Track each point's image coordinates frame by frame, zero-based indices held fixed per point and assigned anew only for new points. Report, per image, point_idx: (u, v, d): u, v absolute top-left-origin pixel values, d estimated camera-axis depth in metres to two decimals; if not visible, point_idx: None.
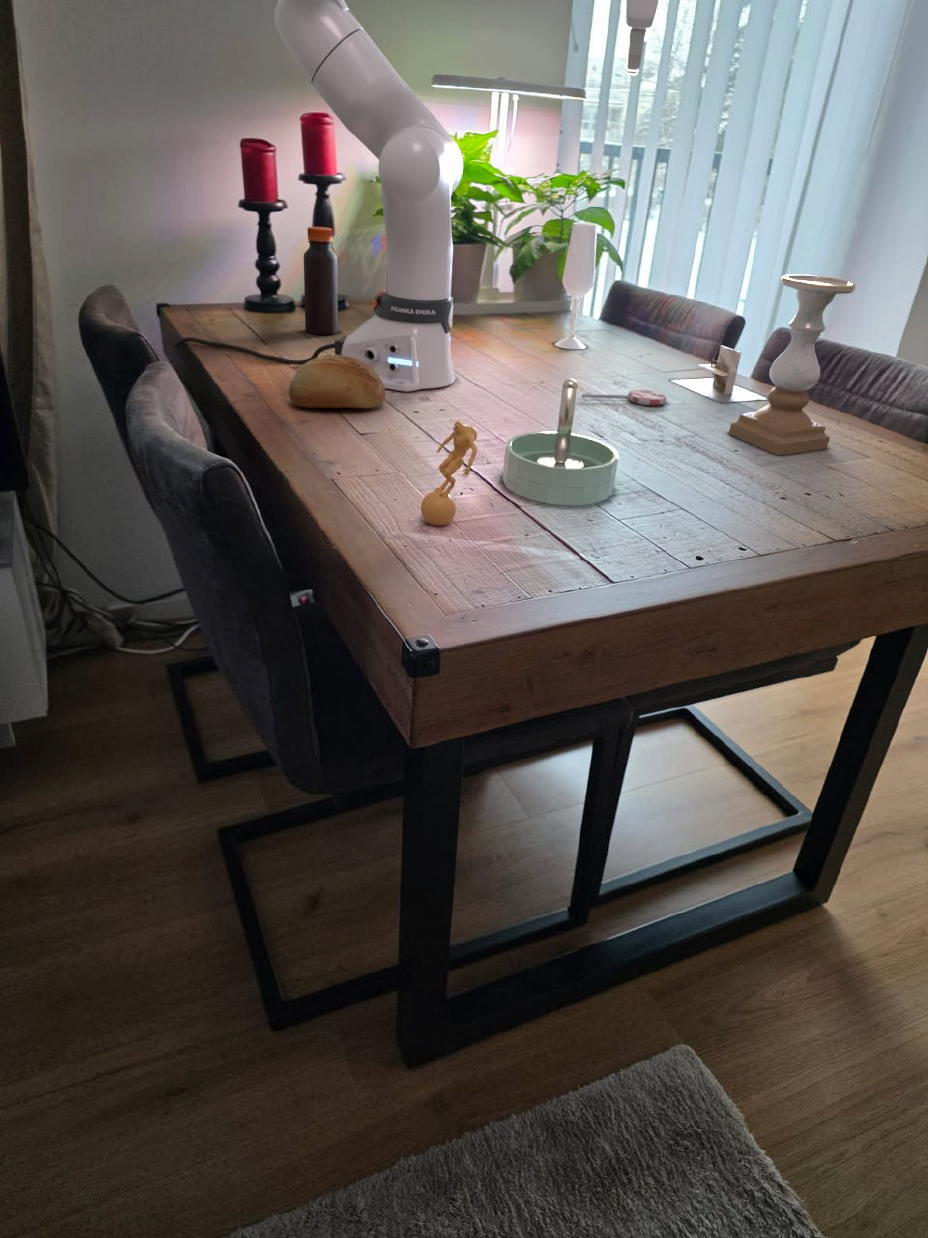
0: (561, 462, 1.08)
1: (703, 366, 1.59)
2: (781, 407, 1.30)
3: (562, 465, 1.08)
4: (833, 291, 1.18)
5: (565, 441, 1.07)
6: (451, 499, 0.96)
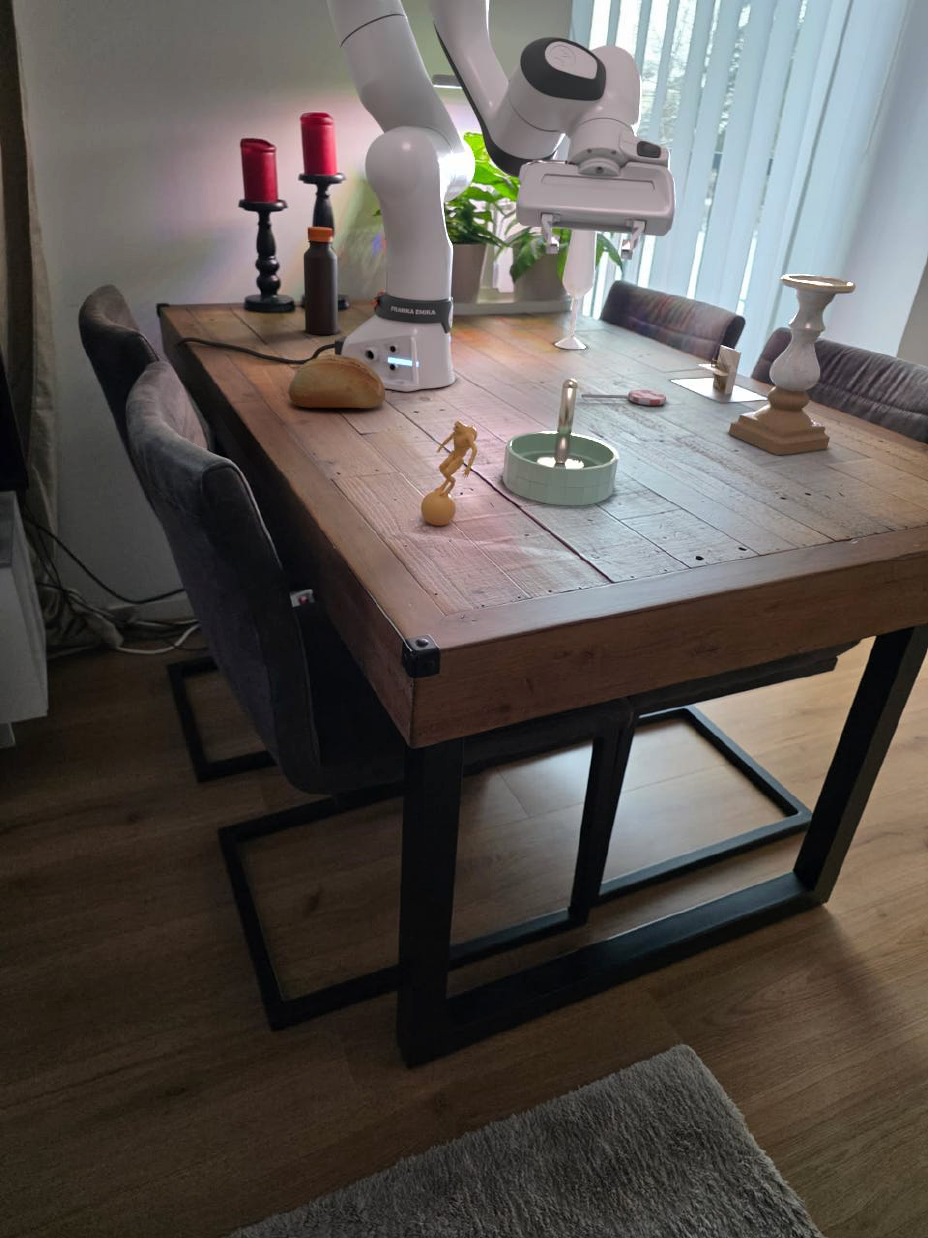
0: (561, 462, 1.08)
1: (703, 366, 1.59)
2: (781, 407, 1.30)
3: (562, 465, 1.08)
4: (833, 291, 1.18)
5: (565, 441, 1.07)
6: (451, 499, 0.96)
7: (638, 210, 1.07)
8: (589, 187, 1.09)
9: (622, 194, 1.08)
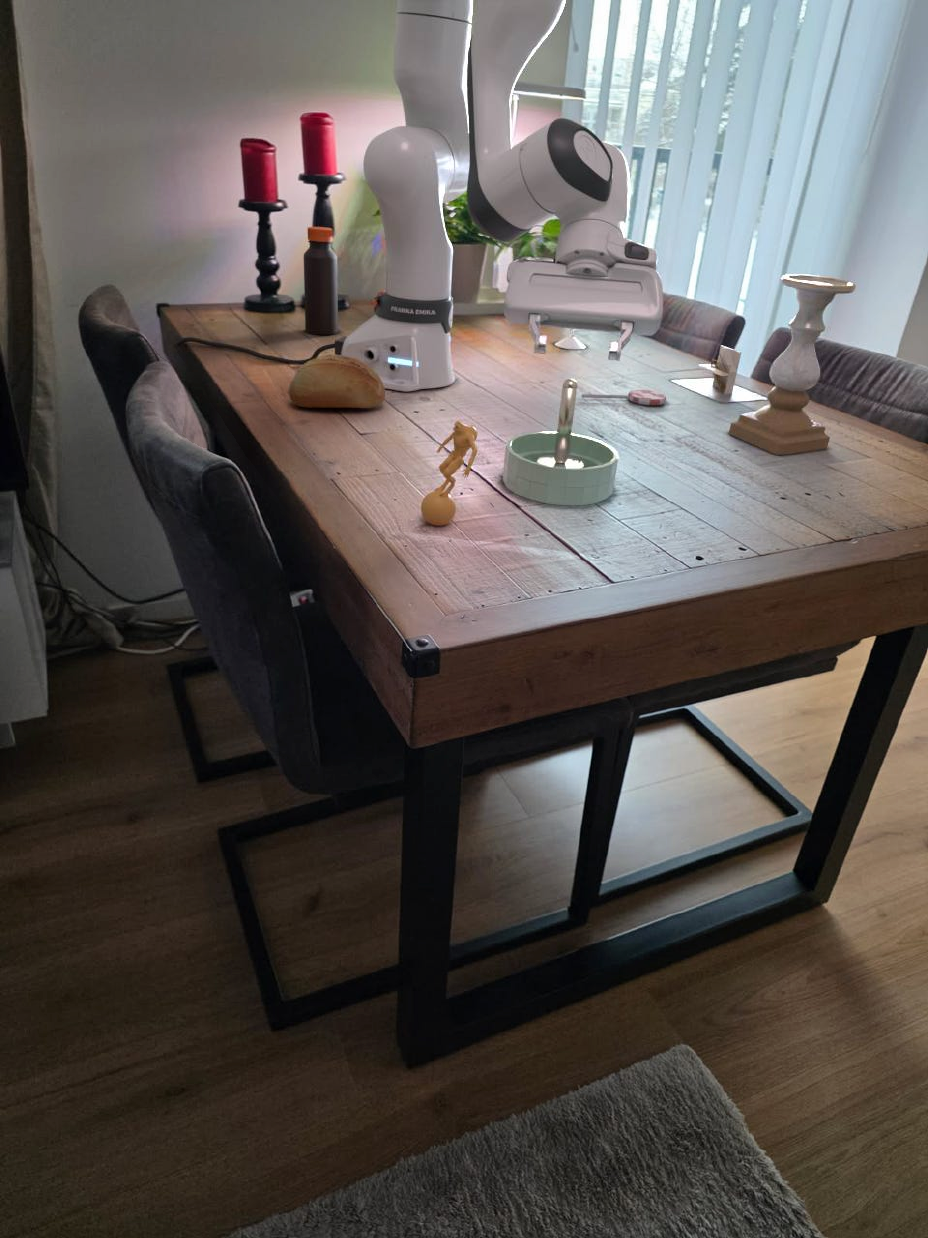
0: (561, 462, 1.08)
1: (703, 366, 1.59)
2: (781, 407, 1.30)
3: (562, 465, 1.08)
4: (833, 291, 1.18)
5: (565, 441, 1.07)
6: (451, 499, 0.96)
7: (626, 312, 1.07)
8: (577, 287, 1.09)
9: (610, 296, 1.08)
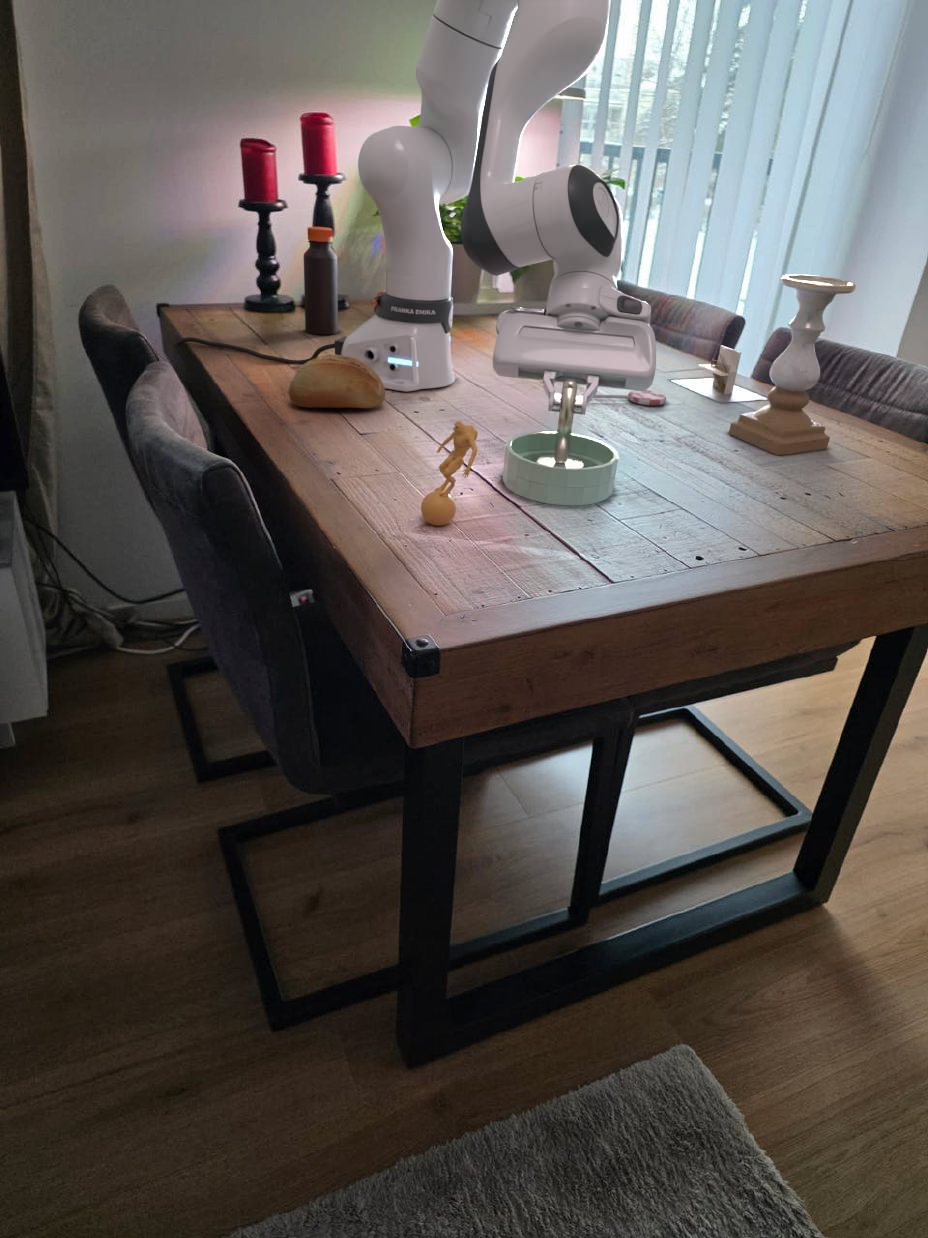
0: (561, 462, 1.08)
1: (703, 366, 1.59)
2: (781, 407, 1.30)
3: (562, 465, 1.08)
4: (833, 291, 1.18)
5: (565, 441, 1.07)
6: (451, 499, 0.96)
7: (618, 369, 1.04)
8: (568, 341, 1.06)
9: (602, 350, 1.05)
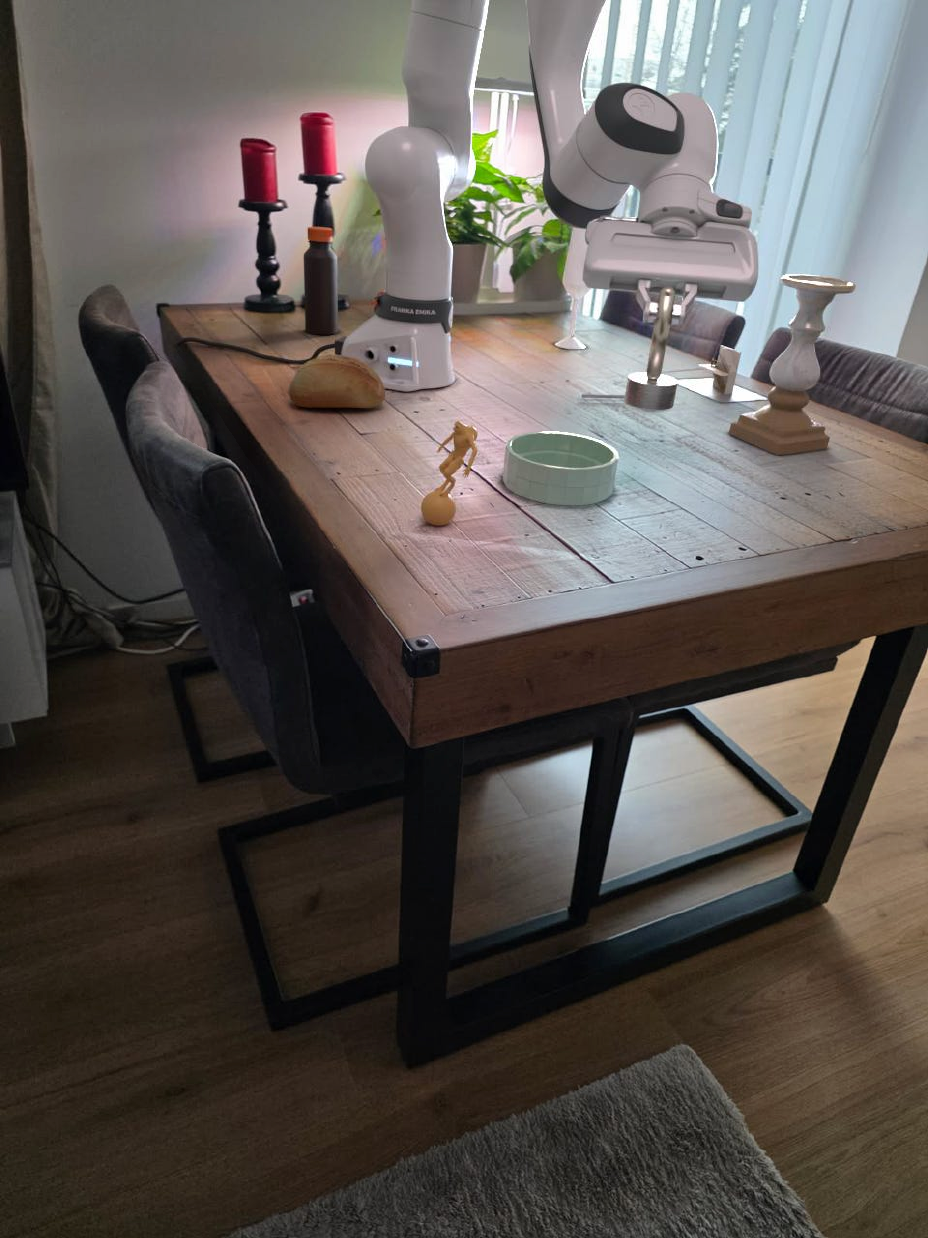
0: (654, 378, 1.03)
1: (703, 366, 1.59)
2: (781, 407, 1.30)
3: (655, 381, 1.02)
4: (833, 291, 1.18)
5: (659, 355, 1.01)
6: (451, 499, 0.96)
7: (718, 276, 0.99)
8: (664, 248, 1.00)
9: (700, 257, 0.99)
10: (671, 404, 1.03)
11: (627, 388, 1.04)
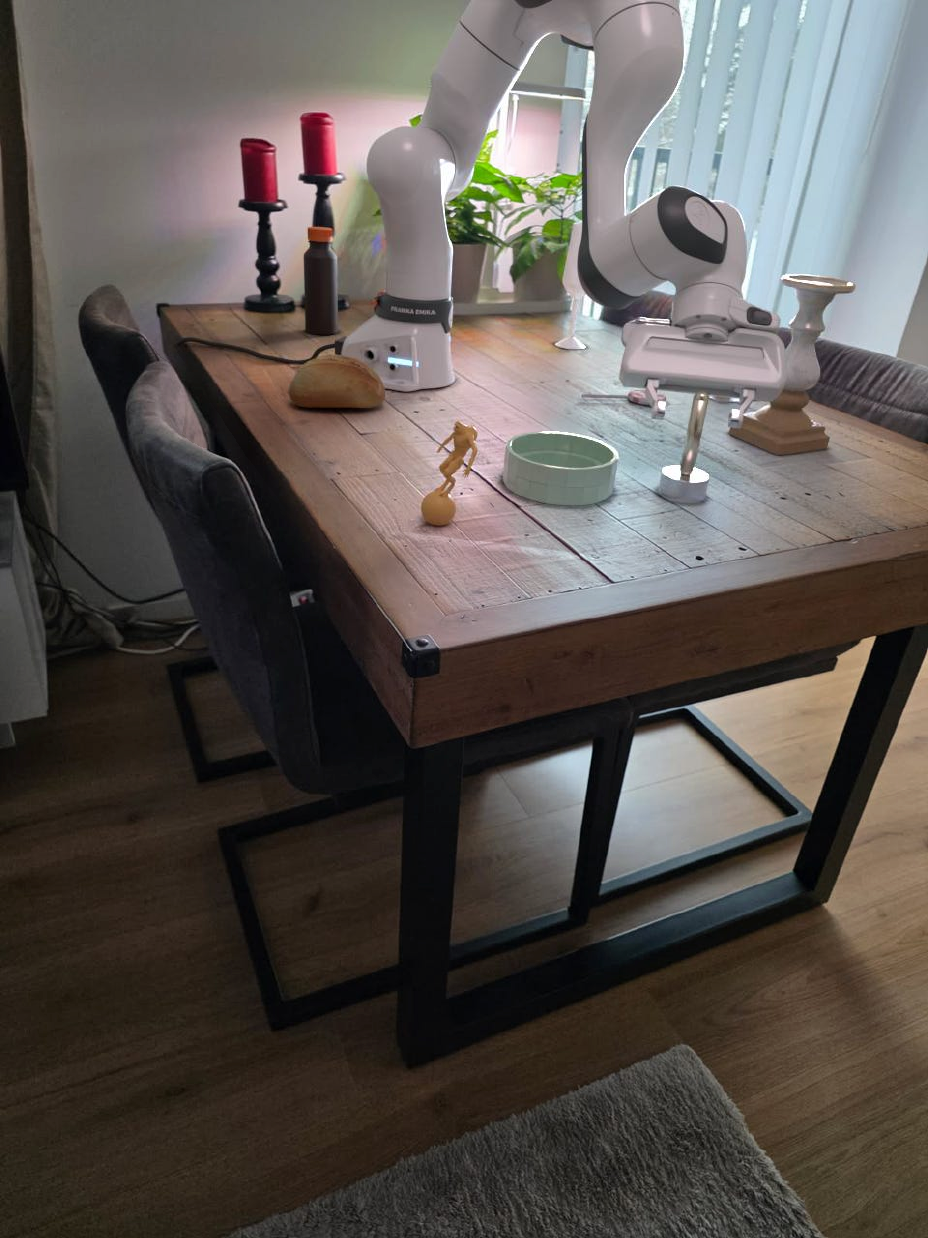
0: (687, 474, 1.09)
1: None
2: (781, 407, 1.30)
3: (688, 477, 1.08)
4: (833, 291, 1.18)
5: (693, 453, 1.07)
6: (451, 499, 0.96)
7: (748, 380, 1.05)
8: (696, 352, 1.06)
9: (731, 361, 1.05)
10: (703, 498, 1.09)
11: (661, 482, 1.10)
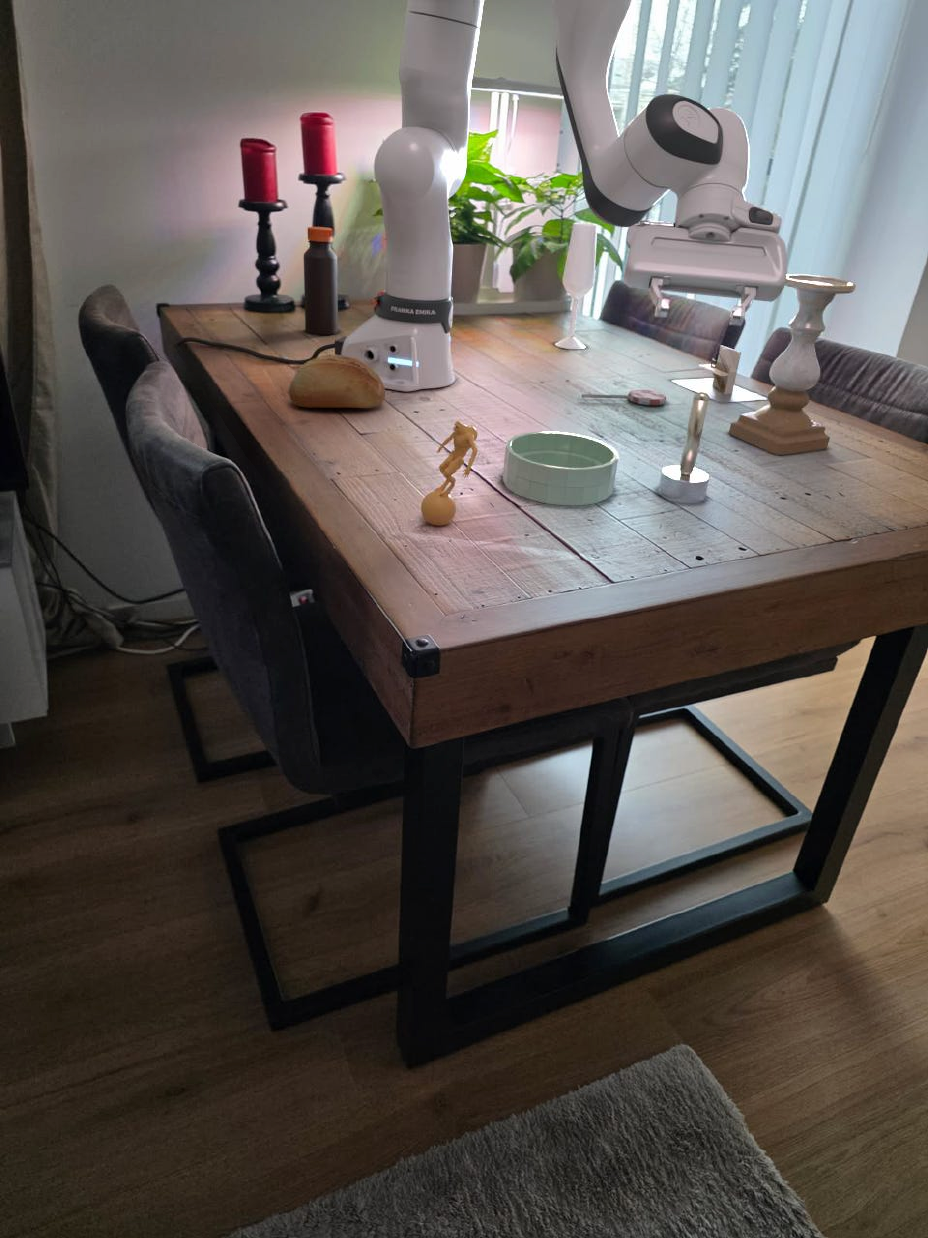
0: (687, 474, 1.09)
1: (703, 366, 1.59)
2: (781, 407, 1.30)
3: (688, 477, 1.08)
4: (833, 291, 1.18)
5: (693, 453, 1.07)
6: (451, 499, 0.96)
7: (750, 277, 1.07)
8: (700, 252, 1.09)
9: (733, 260, 1.08)
10: (703, 498, 1.09)
11: (661, 482, 1.10)
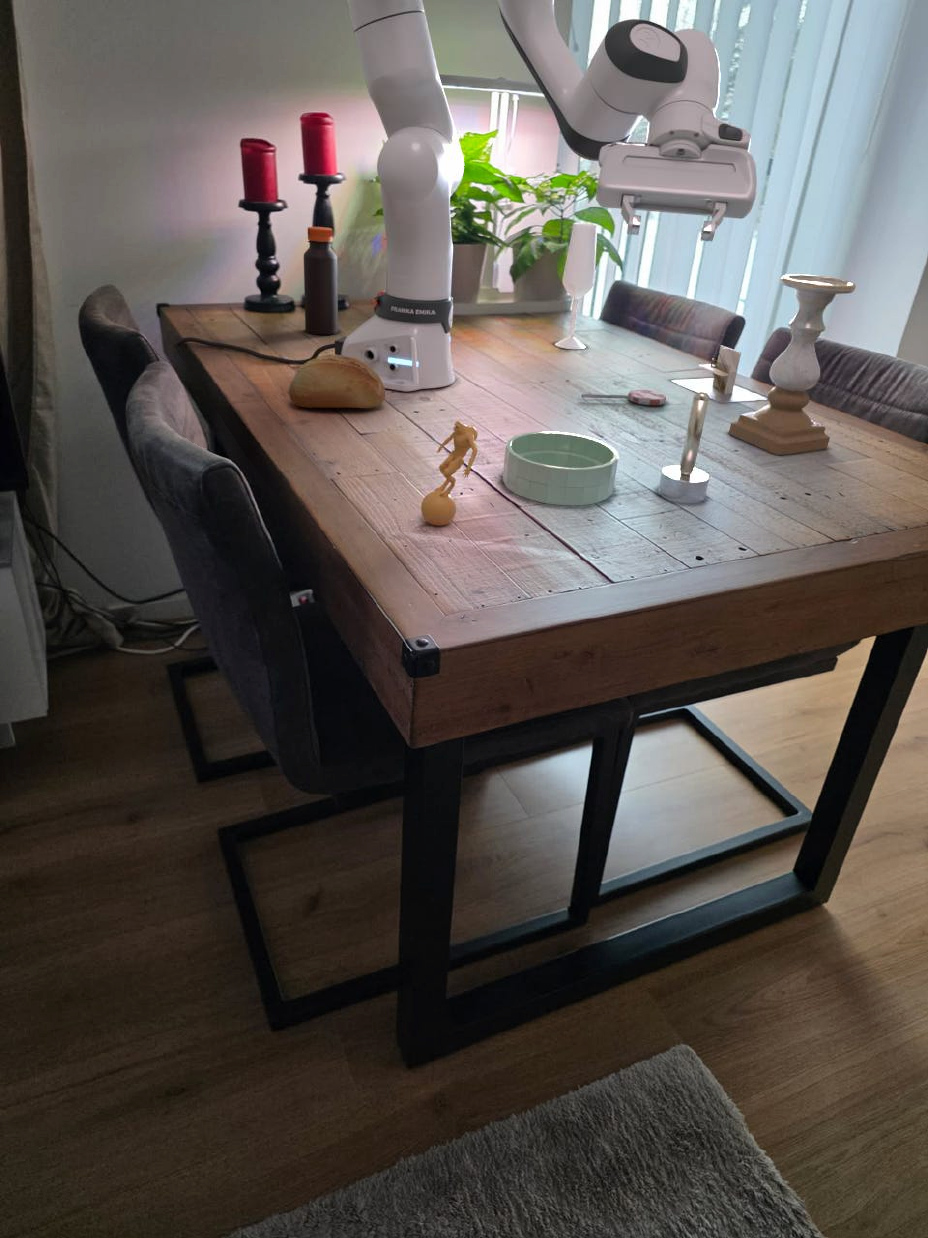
0: (687, 474, 1.09)
1: (703, 366, 1.59)
2: (781, 407, 1.30)
3: (688, 477, 1.08)
4: (833, 291, 1.18)
5: (693, 453, 1.07)
6: (451, 499, 0.96)
7: (720, 192, 1.08)
8: (670, 169, 1.10)
9: (704, 176, 1.09)
10: (703, 498, 1.09)
11: (661, 482, 1.10)
